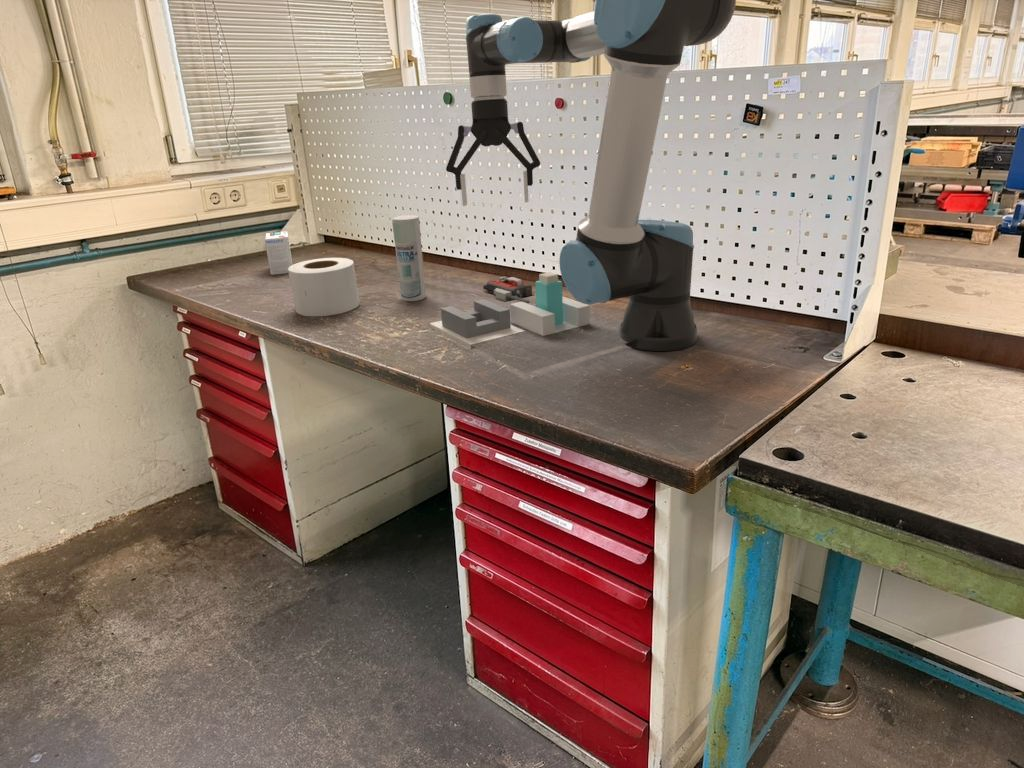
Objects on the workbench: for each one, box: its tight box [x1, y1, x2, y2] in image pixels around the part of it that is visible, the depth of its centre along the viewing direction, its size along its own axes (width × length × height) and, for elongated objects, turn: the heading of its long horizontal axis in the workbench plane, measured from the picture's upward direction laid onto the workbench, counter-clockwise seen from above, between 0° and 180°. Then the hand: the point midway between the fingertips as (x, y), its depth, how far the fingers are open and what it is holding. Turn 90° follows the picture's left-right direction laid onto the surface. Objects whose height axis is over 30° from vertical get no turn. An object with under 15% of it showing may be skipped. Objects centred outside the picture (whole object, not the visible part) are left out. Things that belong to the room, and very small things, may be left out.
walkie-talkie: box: [482, 276, 533, 304], centre depth 171 cm, size 9×4×20 cm
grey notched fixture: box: [429, 298, 525, 350], centre depth 146 cm, size 18×13×5 cm
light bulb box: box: [264, 230, 294, 276], centre depth 209 cm, size 11×7×11 cm, turn 17°
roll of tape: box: [288, 257, 361, 317], centre depth 168 cm, size 16×15×11 cm
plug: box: [535, 271, 564, 325], centre depth 145 cm, size 4×4×10 cm
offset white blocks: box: [509, 295, 591, 337], centre depth 146 cm, size 12×12×5 cm
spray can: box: [391, 214, 427, 302], centre depth 170 cm, size 6×6×20 cm
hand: (495, 203), depth 152 cm, fingers open, 13 cm apart
